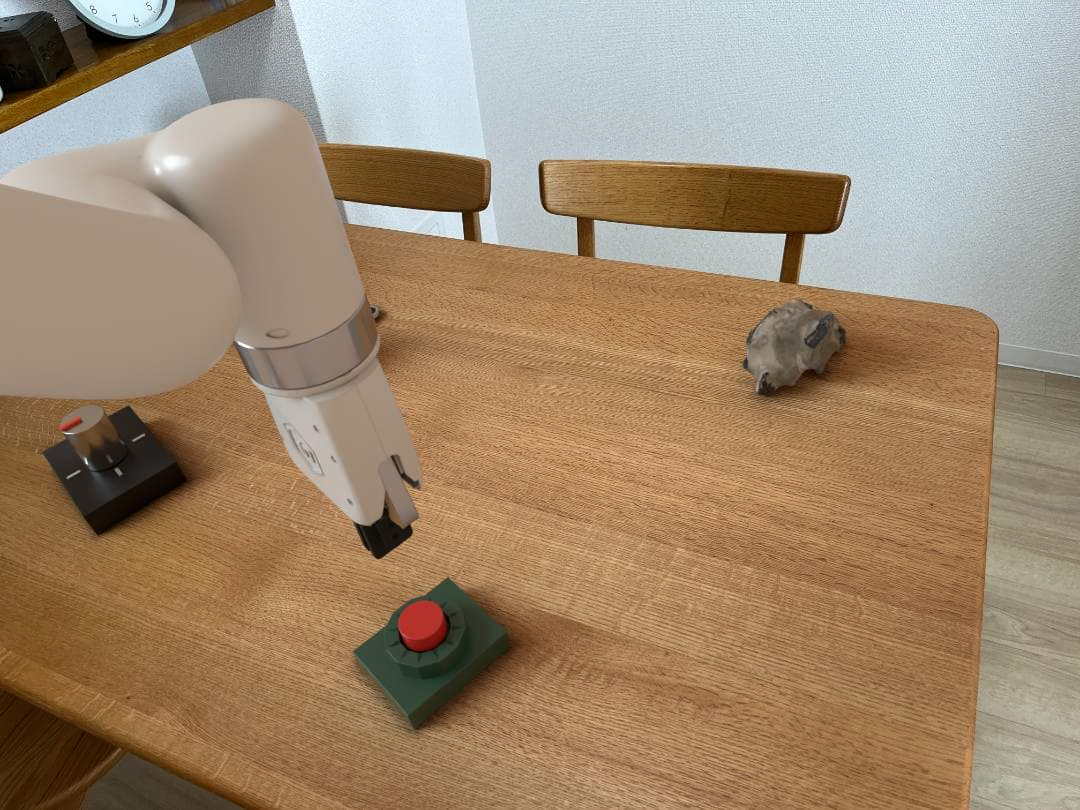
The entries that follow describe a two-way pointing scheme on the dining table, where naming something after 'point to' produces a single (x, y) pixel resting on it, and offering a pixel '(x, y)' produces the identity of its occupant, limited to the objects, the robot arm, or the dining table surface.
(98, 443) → the hob knob
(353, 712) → the dining table surface
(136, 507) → the panel
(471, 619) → the block
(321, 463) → the robot arm
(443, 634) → the button
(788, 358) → the decorative stone
